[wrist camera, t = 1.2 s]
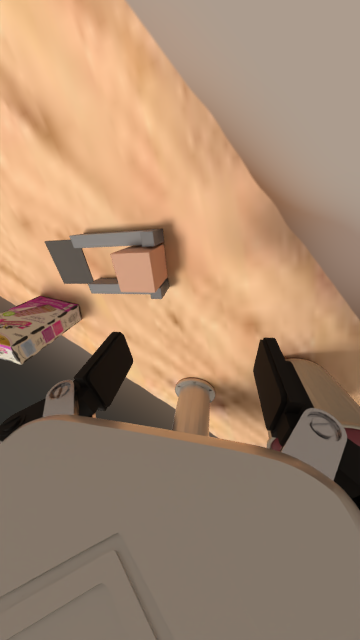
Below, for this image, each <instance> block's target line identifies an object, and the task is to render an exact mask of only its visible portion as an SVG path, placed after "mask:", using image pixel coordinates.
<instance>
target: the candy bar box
mask: <svg viewBox="0 0 360 640" xmlns="http://www.w3.org/2000/svg"><path fill="white" fill-rule="evenodd" d="M80 320H82V317H81V313H80V308H79V305H78V304H73V303H69V302H64V301H60V300H55V299H51V298H47V297H42V296H39V297H36V298H34V299H32V300H29V301H27V302H25V303H23V304H20V305H18V306H16V307H13V308H11V309H9V310H7V311H5V312H2V313H0V359H4V360H7V361H11V362H14V363H18V364H23V363H24V362H26V361H27V360H28V359H29V358H31V357H32V356H33V355H35V354H36V353H38V352H39V351H40V350H42V349H43V348H44V347H45V346H47V345H48V344H50V343H51V342H52V341H54V340H55V339H56V338H57V337H59V336H60V335H62V334H63V333H64V332H66V331H67V330H68V329H70V328H71V327H72V326H74V325H75V324H76V323H78V322H79V321H80Z"/></svg>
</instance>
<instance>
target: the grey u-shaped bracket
mask: <svg viewBox="0 0 360 640" xmlns="http://www.w3.org/2000/svg"><path fill="white" fill-rule="evenodd" d="M70 239H71V241H72V244H73V246H74V248H90V247H112V246H133V245H142V247H149V246H156V245H158V244H160V243H162V242H164V236H163V229H151V230H136V231H121V232H105V233H90V234H79V235H72V236H70ZM88 285H89V288H90V290H91V293H102V294H151V299H162V298H163V296H164V295H165V293H166V292H167V290H168V288H169V283H168V278H166V279H165V281H164V282H163V283H162V285H161V286H160V287H159V288H158V290H157V291H156V292H155V293H148V292H121V290H120V287H119V283H118V280H117V279H97V280H95V281H93V282H91V283H90V284H88Z"/></svg>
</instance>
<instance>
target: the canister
mask: <svg viewBox="0 0 360 640" xmlns="http://www.w3.org/2000/svg"><path fill="white" fill-rule="evenodd" d="M285 360H286V361H291V362H292V364H293V366H294V368H295V370H296V372H297V374H298V376H299V378H300V380H301V382H302V384H303V386H304V388H305V390H306V392H307V394H308V396H309V398H310V400H311V402H312V404H313V406H314V408H317V409H320V410H323V411H325V412H327V413H329V414H331V415H332V416H333V417H335V418H336V419H337V420H338V421H339V422H340V423H341V424H342V426H343V427H344V429H345V431H346V434H347V438H348V439H350V440H351V441H352V442H354V443H355V444H357V445H358V446H359V447H360V406H359V405H358V404H357V403H356V402H355V401H354V400H353V399H352V398H351V397H350V395H349V394H348V393H347V392H346V391H345V390H344V389H343V388H342V387H341V386H340V385H339V384H338V383H337V382H336V381H335V380H334V379H333V378H332V376H331V375H330V374H329V373H328V372H326V371H325V370H324V369H323V368H322V367H321V366H319V365H318V364H316V363H314V362H311V361H309V360H305V359H300V358H299V359H296V358H294V359H291V358H290V359H285ZM268 435H269V439H268V441H267V448H269V449H273V450H276V451H280V449H281V447H282V446H281V445H280V444H279V441H278V438H274V437H272V436H271V432H270V431H269V430H268Z"/></svg>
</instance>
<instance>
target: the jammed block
mask: <svg viewBox="0 0 360 640" xmlns="http://www.w3.org/2000/svg"><path fill="white" fill-rule="evenodd" d="M110 255H111V258H112V262H113V266H114V269H115V273H116V276H117V280H118V283H119V287H120V290H121V292H148V293H155V292H156V291H157V290H158V288H159V287H160V286H161V285H162V283H163V282H164V281H165V279H166V278H167V267H166V258H165V249H164V244H158V245H156V246H149V247H142V245H133V246H131V247H128V248H125V249H122V250H120V251H117V252H114V253H111V254H110Z"/></svg>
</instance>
